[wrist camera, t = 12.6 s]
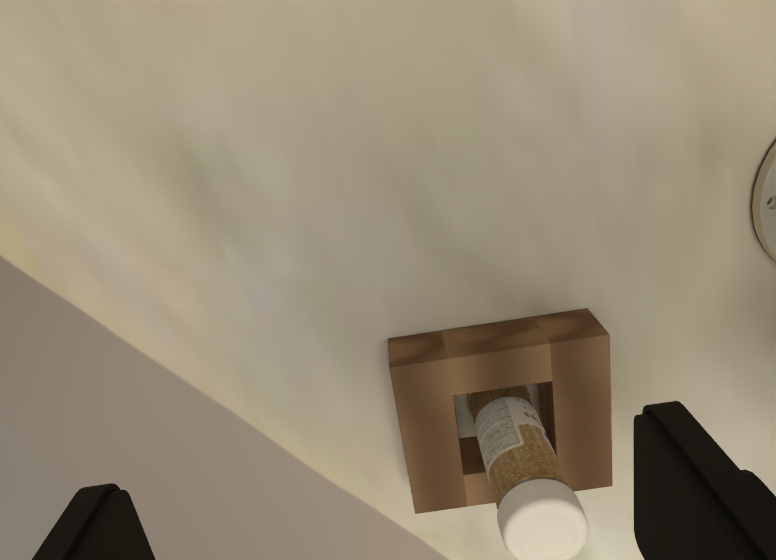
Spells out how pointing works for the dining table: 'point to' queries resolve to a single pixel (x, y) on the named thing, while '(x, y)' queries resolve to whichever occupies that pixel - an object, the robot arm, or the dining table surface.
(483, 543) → the dining table surface
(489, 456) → the sprinkles bottle
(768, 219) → the robot arm
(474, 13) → the dining table surface
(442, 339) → the socket board
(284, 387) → the dining table surface
